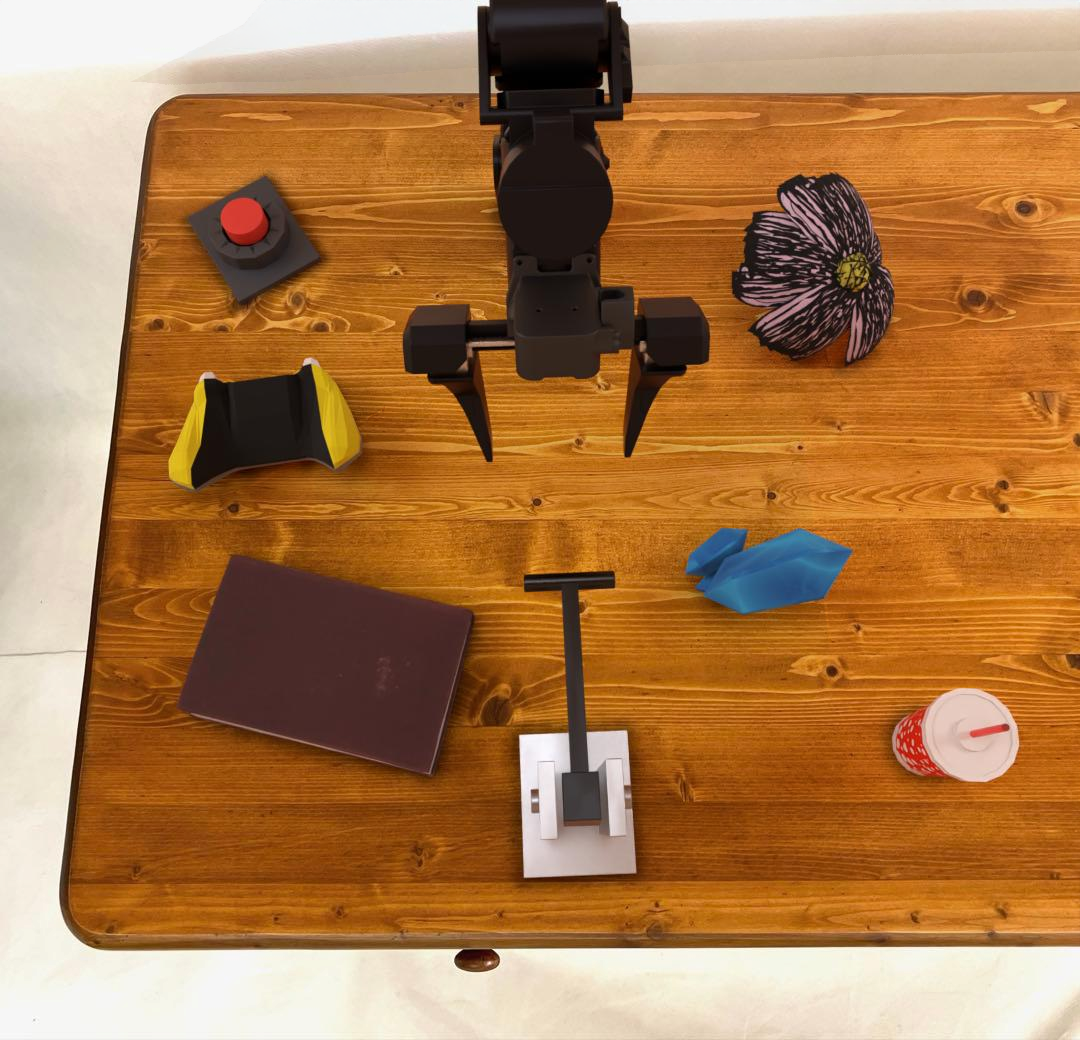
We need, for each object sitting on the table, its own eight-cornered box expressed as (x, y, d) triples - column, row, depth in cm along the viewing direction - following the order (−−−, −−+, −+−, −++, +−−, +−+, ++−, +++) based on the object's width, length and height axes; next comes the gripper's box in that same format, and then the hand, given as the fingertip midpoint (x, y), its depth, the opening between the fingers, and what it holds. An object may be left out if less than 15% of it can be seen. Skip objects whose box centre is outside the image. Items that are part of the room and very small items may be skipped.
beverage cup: (968, 712, 73) (1060, 689, 60) (960, 795, 72) (1053, 789, 58) (886, 694, 74) (960, 667, 61) (876, 776, 72) (949, 766, 59)
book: (242, 560, 78) (229, 549, 75) (477, 616, 76) (473, 607, 73) (189, 715, 74) (173, 711, 71) (433, 778, 73) (428, 776, 70)
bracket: (519, 735, 73) (510, 714, 58) (626, 731, 73) (644, 708, 58) (524, 877, 71) (516, 893, 55) (635, 872, 71) (656, 887, 55)
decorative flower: (802, 364, 71) (759, 163, 71) (722, 394, 82) (685, 220, 82) (958, 337, 76) (918, 149, 76) (863, 369, 87) (828, 205, 87)
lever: (524, 581, 66) (522, 568, 64) (613, 577, 66) (615, 564, 64) (532, 828, 59) (531, 822, 57) (631, 824, 59) (634, 818, 57)
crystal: (669, 531, 71) (832, 479, 69) (681, 554, 79) (827, 509, 77) (700, 629, 69) (869, 579, 67) (708, 643, 77) (860, 598, 75)
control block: (188, 222, 87) (178, 205, 85) (268, 179, 88) (260, 161, 86) (241, 305, 84) (232, 290, 82) (322, 261, 86) (315, 245, 83)
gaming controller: (371, 483, 80) (360, 372, 82) (358, 459, 74) (346, 342, 77) (187, 509, 79) (182, 397, 82) (161, 488, 74) (156, 368, 77)
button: (219, 222, 84) (212, 210, 83) (256, 202, 85) (250, 190, 83) (238, 252, 84) (232, 241, 82) (276, 232, 84) (270, 220, 82)
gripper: (377, 258, 51) (406, 519, 59) (734, 246, 51) (717, 509, 59) (402, 214, 61) (424, 443, 69) (701, 204, 61) (690, 434, 68)
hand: (558, 457), depth 66 cm, fingers open, 9 cm apart
